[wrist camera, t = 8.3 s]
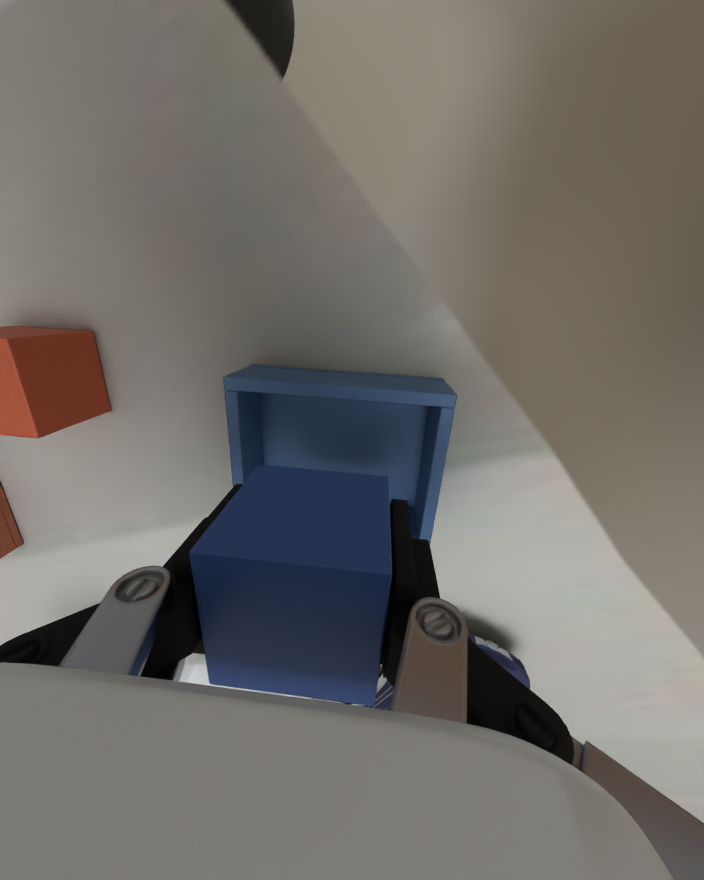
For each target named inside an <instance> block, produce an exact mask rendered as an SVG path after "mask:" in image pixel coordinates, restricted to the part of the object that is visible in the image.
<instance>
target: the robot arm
mask: <svg viewBox="0 0 704 880" xmlns="http://www.w3.org/2000/svg"><path fill="white" fill-rule="evenodd" d="M242 485H243V484H236V485H235V486H234V487H233V488H232V489H231V490H230V492H229V493H228V494H227V495H226V496H225V498H224V499H223V500H222V501H221V502H220V503H219V505H218V506H217V507H216V508H215V509H214V511H213V512H212V513H211V514H210V515H209V516H208V517H206V518H205V519H203V520H202V522H201V523H200V524H199V525H198V526H197V527H196V529H195V530H194V531H193V532H192V533H191V534H190V535H189V537H188V538H187V539H186V540H185V541H184V542H183V544H182V545H181V546H180V547H179V548H178V549H177V551H176V552H175V553H174V554H173V555H172V556H171V558H170V559H169V560H168V561H167V562H166V563H165V565H164V566H163V567H160V566H147V567H141V568H138V569H135V570H133V571H131V572H129V573H127V574H125V575H123V576H122V577H121V578H119V579H118V580H117V581H116V582H115V583H114V584H113V585H112V587H111V588H110V589H109V591H108V592H107V594H106V595H105V597H104V598H103V600H102V601H101V603H99V604H96V605H94V606H92V607H89V608H87V609H84V610H82V611H79V612H77V613H74V614H72V615H69V616H67V617H64V618H62V619H59V620H57V621H54V622H52V623H50V624H47V625H45V626H42V627H40V628H37V629H35V630H32V631H30V632H27V633H25V634H22V635H20V636H18V637H16V638H14V639H11V640H9V641H7V642H5V643H4V644H2V645H1V646H0V880H704V823H702V822H701V821H700V820H698V819H697V818H696V817H694V816H693V815H691V814H690V813H688V812H687V811H686V810H684V809H683V808H681V807H680V806H679V805H677V804H676V803H674V802H673V801H671V800H670V799H669V798H667V797H666V796H664V795H663V794H662V793H660V792H659V791H657V790H656V789H654V788H653V787H652V786H650V785H649V784H647V783H646V782H644V781H643V780H642V779H640V778H639V777H637V776H636V775H635V774H633V773H632V772H630V771H629V770H627V769H626V768H625V767H623V766H622V765H620V764H619V763H618V762H616V761H615V760H613V759H612V758H610V757H609V756H608V755H606V754H605V753H603V752H602V751H600V750H599V749H598V748H596V747H595V746H593V745H592V744H591V743H589V742H588V741H586V742H585V744H584V745H583V744H581V743H580V742H579V741H577V740H576V739H574V738H573V737H572V736H571V735H570V733H569V731H568V729H567V727H566V725H565V724H564V722H563V721H562V719H561V718H560V717H559V715H558V714H557V713H556V712H555V711H554V710H553V709H552V708H551V707H550V706H549V705H548V704H547V703H545V702H544V701H543V700H542V699H541V698H539V697H538V696H537V695H536V694H535V693H533V692H532V691H531V690H530V689H529V688H527V687H526V686H525V685H524V684H523V683H521V682H520V681H519V680H518V679H517V678H515V677H514V676H513V675H512V674H511V673H509V672H508V671H507V670H506V669H505V668H503V667H502V666H501V665H500V664H499V663H497V662H496V661H495V660H494V659H493V658H491V657H490V656H489V655H488V654H487V653H485V652H484V651H483V650H482V649H481V648H479V647H478V646H477V645H476V644H474V643H473V642H472V641H471V640H470V639H468V628H467V622H466V620H465V618H464V616H463V614H462V613H461V612H460V611H459V610H458V609H457V608H456V607H455V606H454V605H452V604H451V603H449V602H448V601H445V600H443V599H440V595H439V590H438V585H437V580H436V575H435V570H434V565H433V560H432V555H431V550H430V544H429V541H428V540H427V539H418V538H412V534H411V526H410V518H409V510H408V502H407V500H401V499H391V503H390V528H391V556H392V579H391V586H390V594H389V602H388V609H387V617H386V624H385V632H384V639H383V647H382V654H381V662H380V664H383V678H386V679H387V680H388V682H389V683H390V684H391V685H392V686H393V687H394V691H393V696H392V701H391V706H390V711H389V710H382V709H375V708H368V707H361V706H354V705H347V704H340V703H333V702H326V701H319V700H312V699H304V698H297V697H290V696H283V695H275V694H268V693H261V692H253V691H246V690H239V689H231V688H224V687H216V686H209V685H201V684H194V683H186V682H179V680H180V677H181V674H182V671H183V667H184V664H185V658H186V657H187V656H189V655H191V654H192V653H197V654H205V653H204V646H203V640H202V633H201V627H200V620H199V614H198V607H197V601H196V594H195V588H194V581H193V575H192V568H191V562H190V555H189V552H190V550H191V549H192V547H193V546H194V545H195V544H196V542H197V541H198V540H199V539H200V537H201V536H202V535H203V534H204V532H205V531H206V530H207V529H208V527H209V526H210V525H211V524H212V522H213V521H214V520H215V519H216V517H217V516H218V515H219V514H220V513H221V511H222V510H223V509H224V508H225V506H226V505H227V504H228V503H229V501H230V500H231V499H232V498H233V496H234V495H235V494H236V493H237V491H238V490H239V489H240V488H241V486H242Z"/></svg>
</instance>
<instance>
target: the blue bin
mask: <svg viewBox="0 0 704 880" xmlns="http://www.w3.org/2000/svg"><path fill="white" fill-rule="evenodd" d="M223 380H224V389H225V401H226V412H227V423H228V435H229V446H230V457H231V469H232V480H233V487H234V486H235V485H236V484H244V483H245V481H246V480H247V479H248V478H249V476H250V475H251V474H252V473H253V472H254V470H255V469H256V468H257V467H258V465H271V466H282V467H293V468H303V469H314V470H325V471H336V472H347V473H357V474H368V475H379V476H388V478H389V499H390V503H391V499H401V500H407V502H408V510H409V518H410V526H411V534H412V538H418V539H427V540H428V541H429V544H430V542H431V536H432V531H433V525H434V520H435V514H436V509H437V503H438V498H439V492H440V487H441V481H442V475H443V470H444V464H445V459H446V453H447V448H448V442H449V437H450V431H451V426H452V420H453V415H454V408H455V404H456V399H457V394H456V393H455V392H454V391H453V390H452V389H451V387H450V386H449V385H448V384H447V383H446V382H445V381H444V379H441V378H428V377H414V376H400V375H387V374H373V373H360V372H346V371H333V370H319V369H306V368H292V367H278V366H265V365H250V366H248V367H245V368H243V369H241V370H239V371H236V372H234V373H232V374H229V375H227V376H225V377H223Z"/></svg>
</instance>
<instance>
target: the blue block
mask: <svg viewBox="0 0 704 880" xmlns="http://www.w3.org/2000/svg"><path fill="white" fill-rule="evenodd" d="M189 555H190V562H191V568H192V575H193V581H194V588H195V594H196V601H197V607H198V614H199V620H200V627H201V633H202V640H203V646H204V653H205V659H206V666H207V672H208V679H209V683H210V684H212V685H219V686H227V687H234V688H242V689H249V690H257V691H264V692H272V693H279V694H286V695H294V696H301V697H309V698H316V699H324V700H331V701H339V702H346V703H353V704H361V705H368V706H374V704H375V699H376V692H377V684H378V677H379V669H380V662H381V654H382V647H383V639H384V632H385V624H386V617H387V609H388V602H389V594H390V586H391V579H392V556H391V528H390V499H389V478H388V476H379V475H368V474H357V473H347V472H336V471H325V470H314V469H303V468H293V467H282V466H271V465H258V467H257V468H256V469H255V470H254V472H253V473H252V474H251V475H250V476H249V478H248V479H247V480H246V481H245V483H244V484H243V485H242V486H241V488H240V489H239V490H238V491H237V493H236V494H235V495H234V496H233V498H232V499H231V500H230V501H229V503H228V504H227V505H226V506H225V508H224V509H223V510H222V511H221V513H220V514H219V515H218V516H217V517H216V519H215V520H214V521H213V522H212V524H211V525H210V526H209V527H208V529H207V530H206V531H205V532H204V534H203V535H202V536H201V537H200V539H199V540H198V541H197V542H196V544H195V545H194V546H193V547H192V549H191V550H190V552H189Z"/></svg>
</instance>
